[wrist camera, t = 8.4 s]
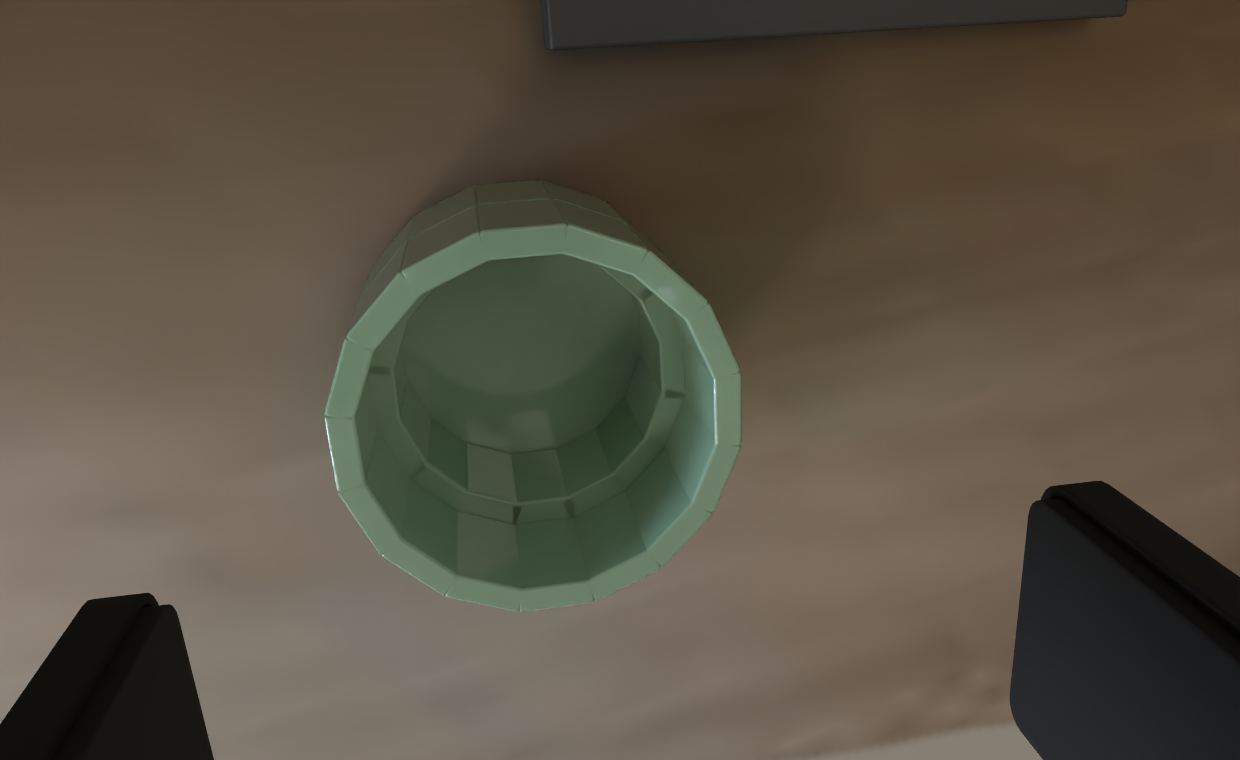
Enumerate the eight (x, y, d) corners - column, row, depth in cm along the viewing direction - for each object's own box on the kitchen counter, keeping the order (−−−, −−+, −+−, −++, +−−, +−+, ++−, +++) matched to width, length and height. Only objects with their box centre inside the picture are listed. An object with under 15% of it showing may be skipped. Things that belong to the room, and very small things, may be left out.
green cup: (383, 496, 22) (360, 635, 17) (336, 191, 20) (293, 245, 15) (680, 461, 23) (743, 583, 18) (669, 165, 21) (740, 208, 15)
